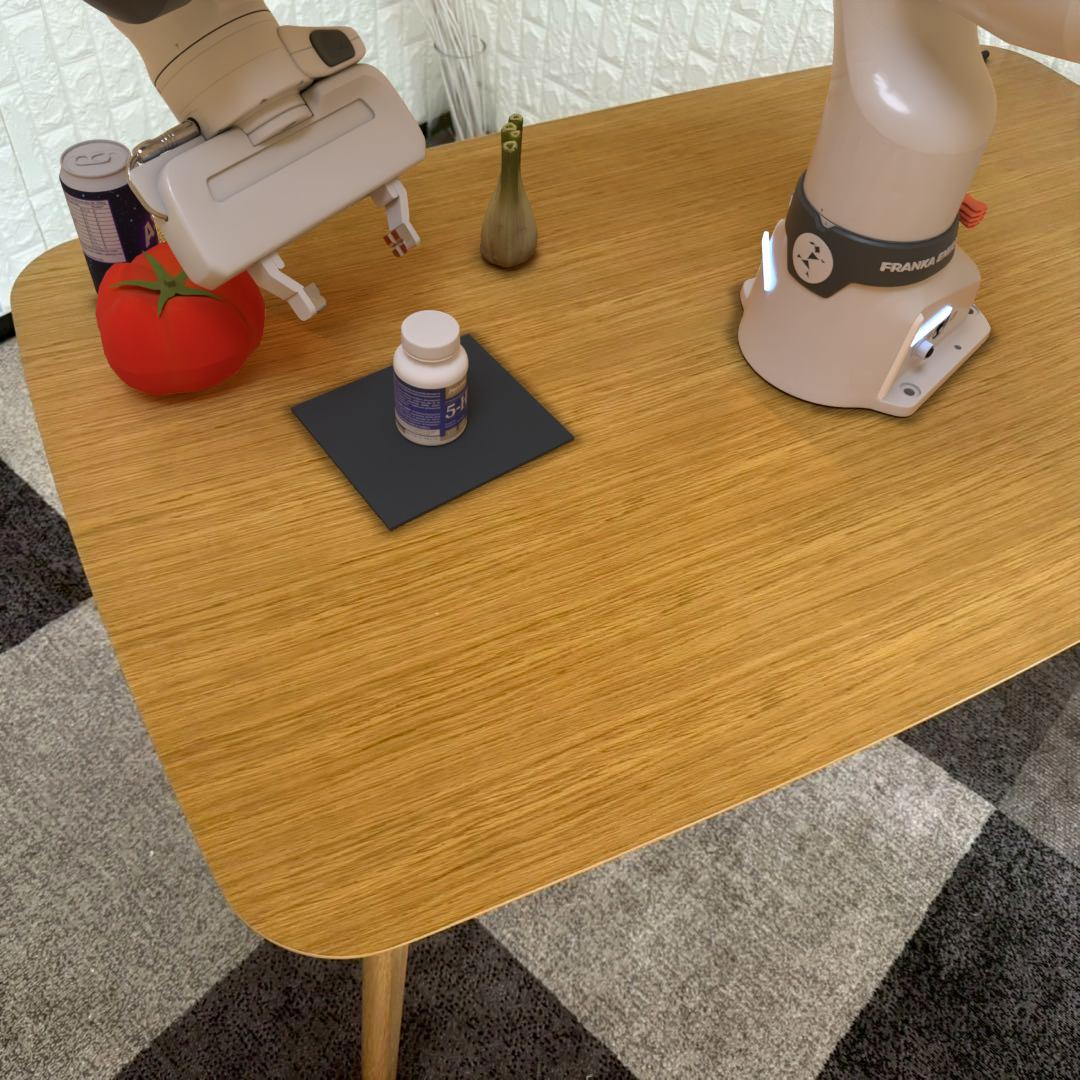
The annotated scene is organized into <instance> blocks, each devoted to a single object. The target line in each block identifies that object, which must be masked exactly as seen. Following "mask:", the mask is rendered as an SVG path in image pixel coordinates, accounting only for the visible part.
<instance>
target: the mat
mask: <svg viewBox="0 0 1080 1080" xmlns="http://www.w3.org/2000/svg"><path fill="white" fill-rule="evenodd" d="M460 344H461V345H462V347H463V348H464V349H465V351H466V354H467V356H468V396H467V423H466V427H465V429H464V431H463V432H462V433H461V435H460V436H459V437H457V438H456V439H455V440H453V441H451V442H449V443H446V444H443V445H437V446H426V445H420V444H417V443H414V442H412V441H410V440H408V439H407V438H405V437H404V436H403V435H402V434H401V433H400V431H399V430H398V427H397V425H396V418H395V397H394V378H393V364H392V365H390V366H389V365H388V366H387V367H385V368H382V369H380V370H378V371H375V372H372V373H370V374H368V375H365V376H363V377H360V378H358V379H356V380H353V381H351V382H348V383H346V384H344V385H342V386H339V387H336V388H334V389H332V390H330V391H327V392H324V393H322V394H319V395H317V396H315V397H313V398H310V399H307V400H304V401H302V402H300V403H298V404H295V405H293V406H291V407H290V411H291V412H292V413H293V415H294V416H295V417H296V418H297V420H298V421H299V422H300V423H301V424H302V426H303V427H304V428H305V429H306V430H307V432H308V433H309V434H310V435H311V437H313V439H314V440H315V442H316V443H317V444H318V445H319V446H320V448H321V449H322V450H323V451H324V452H325V454H327V456H328V457H329V458H330V460H331V461H332V462H333V463H334V464H335V466H336V467H337V468H338V469H339V471H340V472H341V473H342V474H343V476H344V477H345V478H346V479H347V480H348V482H349V483H350V484H351V485H352V486H353V488H354V489H355V490H356V491H357V493H358V494H359V495H360V496H361V497H362V499H363V500H364V501H365V502H366V504H367V505H368V506H369V507H370V508H371V510H372V511H373V512H374V514H375V515H376V516H377V517H378V518H379V519H380V521H381V522H382V523H383V524H384V525H385V527H386V528H387V529H388V531H390V532H391V531H393V530H395V529H397V528H399V527H402V526H403V525H405V524H407V523H409V522H412V521H413V520H415V519H417V518H419V517H421V516H423V515H425V514H428V513H429V512H431V511H433V510H436V509H437V508H439V507H441V506H443V505H445V504H448V503H450V502H452V501H454V500H456V499H458V498H459V497H461V496H463V495H466V494H468V493H469V492H472V491H474V490H476V489H478V488H480V487H482V486H484V485H486V484H488V483H490V482H492V481H494V480H496V479H498V478H500V477H502V476H504V475H506V474H508V473H510V472H513V470H516V469H518V468H521V467H523V466H524V465H526V464H528V463H530V462H533V461H534V460H536V459H538V458H541V457H542V456H544V455H546V454H549V453H551V452H553V451H555V450H557V449H559V448H561V447H563V446H564V445H567V444H569V443H571V442H573V441H575V436H574V435H573V434H572V432H570V431H569V430H568V429H567V428H566V427H565V426H564V425H563V424H562V423H561V422H560V421H559V420H558V419H557V418H556V417H555V416H554V415H552V413H551V412H550V411H549V410H548V409H546V407H544V406H543V405H542V403H540V401H538V399H536V397H534V396H533V394H532V393H530V392H529V391H528V390H527V389H526V388H525V387H524V386H523V385H522V383H520V382H519V381H518V380H517V379H516V378H515V377H514V376H513V375H512V374H511V373H510V371H508V370H506V368H505V367H503V365H502V364H501V363H500V362H499V361H498V360H497V359H496V358H494V356H493V355H492V354H490V353H489V351H488V350H486V349H485V348H484V346H482V345H481V344H480V343H479V341H477V340H476V339H475V338H474V337H473V336H472V335H471V334H470V333H466V334H464V335H460Z"/></svg>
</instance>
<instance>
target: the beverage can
mask: <svg viewBox="0 0 1080 1080" xmlns="http://www.w3.org/2000/svg"><path fill="white" fill-rule="evenodd" d="M131 156H132V151H131V150H130V149H129V148H128V146H127V145H125V144H123V143H122V142H119V141H117V140H113V139H105V138H104V139H103V138H94V139H87V140H83V141H80V142H77V143H75V144H72V145H70V146H69V147H67V148H66V149H64V151H63V152H62V153H61V154H60V156H59V165H60V169H59V174H58V179H59V183H60V186H61V188H62V189H61V190H62V192H63V194H64V195H63V196H64V198H65V201H66V204H67V207H68V210H69V213H70V216H71V220H72V222H73V225H74V228H75V231H76V234H77V238H78V240H79V243H80V247H81V249H82V253H83V256H84V259H85V262H86V265H87V268H88V271H89V274H90V277H91V281H92V283H93V287H94V289H95V292H96V294H97V295H98V292H99V286H100V284H101V282H102V280H103V278H104V276H105V274H106V271H107V270H108V269H109V268H110V267H111V266H112V265H113V264H114V263H131V262H132V261H133V260H134V259H135V257H136V256H138V255H140V254H142V253H143V252H145V251H147V250H149V249H151V248H152V247H154V246H156V245H158V244H159V243H160V240H159V239H160V238H159V235H158V232H157V227H156V224H155V220H154V219H155V218H154V215H152V214H151V213H149V212H148V211H147V210H146V209H145V208H144V207H143V205H142V204H141V202H140V201H139V199H138V198H137V197H136V195H135V194H134V192H133V191H132V190H131V188H130V186H129V184H128V182H127V176H126V166H127V163H128V161H129V159H130V158H131ZM138 166H140V163H138V162H136V164H135V166H134V168H136V167H138ZM142 251H143V252H142Z"/></svg>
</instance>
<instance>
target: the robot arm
mask: <svg viewBox="0 0 1080 1080" xmlns="http://www.w3.org/2000/svg"><path fill="white" fill-rule="evenodd" d="M82 1H83V2H85V4H87V5H89V6H90V7H92V8H93V9H95V10H97V11H99V12H100V13H102V14H104V15H105V16H106V18H107V19H108V20H109V21H110V23H111V24H112V25H113V27H114V28H116V29H117V30H118V31H119V32H120V33H121V34H122V35H124V36H125V38H127V39H128V40H129V41H130V43H131V44H132V45H133V46H134V48H135V49H136V51H137V52H138V54H139V56H140V57H141V59H142V61H143V64H144V66H145V68H146V72H147V74H148V77H149V80H150V82H151V83H152V85H153V87H154V88H155V89H156V91H157V92H158V94H159V95H160V97H161V98H162V100H163V101H164V103H165V104H166V106H167V107H168V109H169V110H170V111H171V113H172V115H173V116H174V118H175V119H176V121H177V122H178V124H177V125H174V126H172V127H171V128H169V129H167V130H166V131H164V132H163V133H161V134H160V135H158V136H156V137H154V138H152V139H151V138H149V139H146V140H143V141H141V142H139V143H138V144H136V145H135V146H134V147H133V148H132V150H131V158H130V159H129V161H128V163H127V166H126V176H127V182H128V184H129V186H130V188H131V190H132V191H133V192H134V194H135V195H136V197H137V198H138V199H139V201H140V202H141V204H142V205H143V207H144V208H145V209H146V210H147V211H148V212H149V213H151V214H152V216H153V218H154V219H155V221H156V224H157V226H158V228H159V230H160V231H161V233H162V236H163V237H164V239H165V242H166V241H167V243H168V245H169V246H170V248H171V250H172V252H173V254H174V255H175V257H176V259H177V260H178V262H179V263H180V265H181V267H182V268H183V270H184V271H185V273H186V274H187V276H188V277H189V279H190V280H191V281H192V282H193V283H195V284H197V285H199V286H201V287H204V288H206V289H209V290H214V289H216V288H218V287H219V286H221V285H223V284H224V283H226V282H227V281H229V280H231V279H232V278H234V277H236V276H237V275H239V274H241V273H242V272H244V271H246V270H247V271H248V273H249V274H250V276H251V277H252V278H253V280H254V281H255V283H256V284H257V286H259V288H260V289H263V290H265V291H267V292H268V293H270V294H272V295H274V296H276V297H278V298H279V299H281V300H283V301H286V302H287V303H288V305H289V306H290V307H291V309H292V310H293V312H294V313H295V315H296V316H297V318H298V319H299V320H300V321H302V322H306V321H308V320H309V319H311V318H313V317H315V315H317V314H319V313H320V312H321V311H323V310H324V309H326V308H327V306H328V303H327V300H326V298H325V296H324V295H321V294H320V289H319V288H318V287H317V285H316V284H315V282H314V281H313V282H311V283H310V284H308V285H306V286H304V285H302V284H300V282H298V281H297V280H295V279H293V278H292V277H290V276H288V275H287V274H285V273H283V271H281V270H282V269H283V268H285V267H286V265H285V262H284V261H283V260H282V258H281V256H280V255H279V253H278V252H279V251H280V250H282V249H284V248H285V247H288V245H290V244H292V243H293V242H295V241H297V240H298V239H300V238H302V237H303V236H305V235H306V234H308V233H310V232H311V231H313V230H315V229H317V228H318V227H320V226H321V225H323V224H324V223H327V222H328V221H330V220H331V219H333V218H335V217H336V216H338V215H340V214H341V213H343V212H345V211H346V210H348V209H349V208H352V207H353V206H354V205H356V204H358V203H359V202H361V201H362V200H365V199H366V198H367V197H370V198H371V200H372V201H373V203H374V204H375V206H376V207H377V209H383V208H384V211H385V214H386V220H387V225H388V230H389V232H388V233H387V234H386V235H384V236H383V237H382V238H383V240H384V242H385V243H386V245H387V246H388V247H389V248H390V249H391V253H392V254H393V256H395V257H396V258H401V257H403V256H404V255H406V254H407V253H409V252H411V251H412V250H414V249H415V248H417V247H418V246H420V245H421V242H422V240H421V238H420V236H419V234H418V233H417V231H416V229H415V228H414V226H413V225H412V223H411V221H410V220H411V218H410V217H411V216H410V209H409V208H410V207H409V199H408V190H407V189H406V187H405V186H404V184H403V183H402V181H401V180H400V178H401V177H402V176H404V175H405V174H407V173H409V172H410V171H412V170H413V169H414V168H416V167H417V166H419V164H421V163H423V161H425V159H426V158H427V144H426V143H427V142H426V138H425V135H424V134H423V131H422V129H421V127H420V125H419V124H418V122H417V120H416V119H415V117H414V115H413V114H412V112H411V110H410V109H409V107H408V106H407V104H406V103H405V101H404V100H403V98H402V97H401V95H400V94H399V92H398V91H397V89H396V88H395V86H394V85H393V84H392V82H391V81H390V79H388V76H386V75H385V74H384V73H383V72H382V71H381V70H380V69H378V67H376V66H373V65H372V64H370V63H365V62H363V63H362V62H361V60H363V58H364V57H365V56H366V54H367V50H366V46H365V43H364V41H363V40H362V37H360V34H359V33H358V32H357V31H356V30H355V29H354V28H352V27H351V26H346V25H335V26H330V25H329V26H305V25H304V26H302V25H292V24H291V25H290V24H284V25H280V24H279V23H278V20H277V18H276V17H275V16H274V14H273V12H272V11H271V9H270V8H269V7H268V5H267V4H266V2H265V0H82ZM832 11H833V12H832V13H833V14H832V15H833V47H832V48H833V50H832V64H831V70H830V71H831V72H830V78H829V79H830V80H829V85H828V90H827V95H826V99H825V103H824V107H823V111H822V115H821V118H820V122H819V126H818V129H817V133H816V137H815V141H814V144H813V148H812V152H811V156H810V158H809V162H808V166H807V168H806V169H804V171H802V173H801V174H800V176H799V178H798V179H797V183H796V185H795V187H794V188H793V191H792V194H791V196H790V198H789V202H788V210H787V213H786V216H785V218H781V219H780V220H778V222H777V223H776V225H775V226H774V229H773V232H772V234H771V236H769V231H764V232H763V235H762V240H761V246H762V247H761V248H762V259H761V262H760V265H759V267H758V269H757V272H756V275H755V277H751V278H748V279H746V280H745V281H744V282H743V283H742V286H741V289H740V291H739V298H740V303H741V306H742V309H743V313H742V317H741V319H740V322H739V325H738V329H737V341H738V345H739V348H740V351H741V354H742V355H743V357H744V359H745V360H746V362H747V363H748V364H749V366H750V367H751V368H752V369H753V371H755V372H756V373H757V374H758V375H759V376H760V377H761V378H763V379H764V380H765V381H767V382H768V383H769V384H771V385H772V386H774V387H775V388H777V389H778V390H780V391H782V392H784V393H786V394H789V395H790V396H793V397H796V398H798V399H800V400H803V401H807V402H809V403H814V404H817V405H821V406H828V407H835V408H861V409H870V410H873V411H877V412H880V413H883V414H887V415H890V416H895V417H901V418H902V417H904V418H905V417H906V418H907V417H910V416H912V415H913V414H914V413H915V412H916V411H917V410H919V408H921V406H922V405H923V404H924V403H925V402H926V401H928V400H929V398H930V397H932V395H933V394H934V393H935V392H937V391H938V389H940V388H941V386H943V384H944V383H946V381H948V379H949V378H950V377H952V376H953V375H954V373H955V372H956V371H957V370H958V369H960V367H961V366H963V364H965V362H966V361H967V360H968V359H969V358H971V356H972V355H974V353H976V351H978V350H979V348H980V347H981V346H982V345H983V344H984V343H985V342H986V341H987V339H988V338H989V336H990V333H991V331H992V328H991V325H990V323H989V321H988V319H987V318H986V316H985V315H984V314H983V312H982V311H981V310H980V309H979V308H978V306H977V305H976V304H975V303H974V301H975V299H976V297H977V295H978V292H979V289H980V287H981V283H982V275H981V273H980V270H979V268H978V265H977V264H976V262H975V261H974V259H972V257H970V256H969V254H968V253H967V252H966V251H965V250H964V249H963V248H962V247H961V246H960V245H959V244H958V233H959V227H960V223H961V224H962V225H963V226H964V228H967V230H972V229H974V228H976V227H977V226H978V225H980V222H982V221H983V219H984V218H985V216H986V215H987V211H988V204H987V203H985V202H983V201H981V200H978V199H975V198H974V197H973V196H972V195H971V193H967V192H968V191H969V188H970V186H971V184H972V182H973V179H974V177H975V175H976V172H977V170H978V169H979V165H980V163H981V161H982V159H983V157H984V154H985V152H986V150H987V148H988V145H989V143H990V141H991V139H992V136H993V134H994V131H995V127H996V122H997V116H998V101H997V100H998V99H997V92H996V89H995V85H994V82H993V80H992V76H991V74H990V72H989V70H988V67H987V65H986V63H985V60H987V59H988V58H989V57H990V55H991V54H990V51H989V50H988V49H984V50H983V51H981V45H980V40H979V31H978V27H980V28H981V29H983V30H984V31H986V32H988V33H989V34H991V35H993V36H995V37H996V38H998V39H999V40H1001V41H1003V42H1004V43H1006V44H1008V45H1011V46H1015V47H1018V48H1020V49H1025V50H1027V51H1031V52H1034V53H1037V54H1040V55H1043V56H1048V57H1051V58H1055V59H1059V60H1063V61H1067V62H1071V63H1074V64H1079V65H1080V0H832ZM136 162H137V163H138V164H139V166H138V167H136V168H134V166H135V164H136ZM769 237H770V238H769Z"/></svg>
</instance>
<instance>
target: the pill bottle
mask: <svg viewBox="0 0 1080 1080" xmlns="http://www.w3.org/2000/svg"><path fill="white" fill-rule="evenodd" d="M401 323H402V324H401V326H400V342H401V343H400V344H399V345H398V347H397V348H396V349H395V351H394V353H393V358H392V365H393V378H394V397H395V418H396V425H397V427H398V430H399V431H400V433H401V434H402V435H403V436H404V437H405V438H407V439H408V440H410V441H412V442H414V443H417V444H420V445H426V446H437V445H443V444H446V443H449V442H451V441H453V440H455V439H456V438H457V437H459V436H460V435H461V433H462V432H463V431H464V429H465V427H466V423H467V396H468V356H467V354H466V351H465V349H464V348H463V347H462V345H461V344H460V337H461V327H460V324H459V322H458V321H457V319H456V318H454V317H453V316H452V315H451V314H449V313H446V312H444V311H440V310H434V309H424V310H419V311H416V312H413V313H412V314H410V315H408V316H407V317H405V319H404V320H403V322H401Z"/></svg>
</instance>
